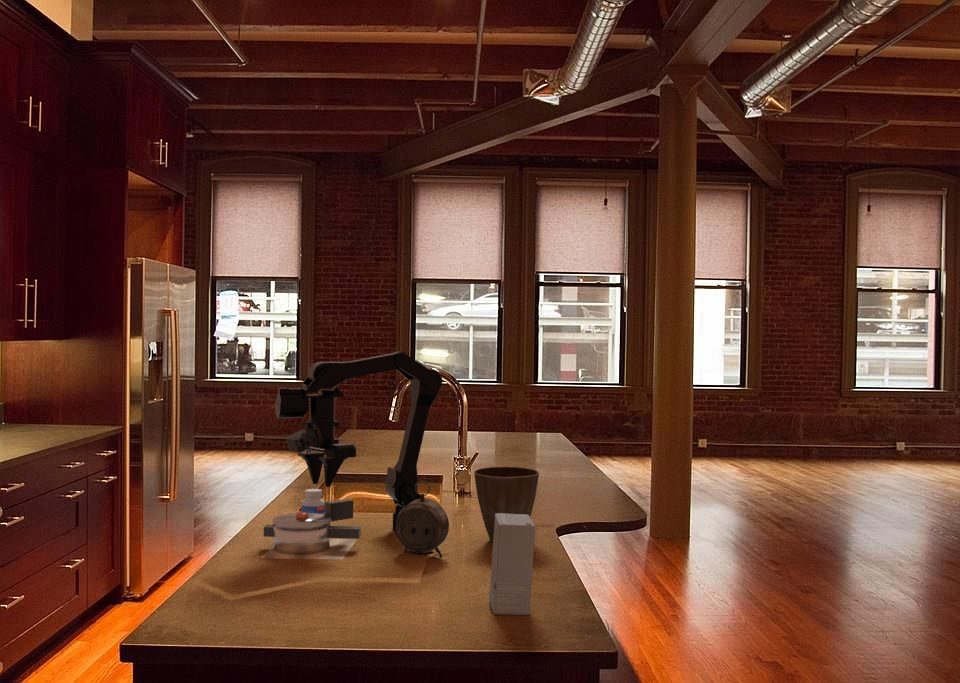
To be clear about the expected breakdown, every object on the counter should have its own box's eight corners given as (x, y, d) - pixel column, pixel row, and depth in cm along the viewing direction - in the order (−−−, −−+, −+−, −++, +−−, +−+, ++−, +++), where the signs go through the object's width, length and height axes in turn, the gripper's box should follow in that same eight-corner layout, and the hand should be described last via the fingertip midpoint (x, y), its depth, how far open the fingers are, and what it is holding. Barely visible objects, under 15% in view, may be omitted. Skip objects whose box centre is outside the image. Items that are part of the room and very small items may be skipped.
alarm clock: (449, 555, 190) (450, 480, 190) (441, 562, 185) (442, 484, 185) (401, 551, 193) (402, 477, 193) (392, 557, 188) (393, 481, 188)
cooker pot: (257, 554, 186) (257, 530, 186) (272, 540, 198) (272, 518, 198) (354, 556, 185) (355, 532, 185) (363, 542, 197) (364, 520, 197)
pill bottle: (318, 534, 208) (319, 492, 208) (297, 532, 210) (297, 491, 209) (327, 529, 214) (328, 488, 214) (306, 527, 215) (307, 487, 215)
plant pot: (508, 552, 194) (509, 479, 194) (459, 540, 204) (460, 471, 204) (551, 541, 205) (552, 471, 205) (502, 530, 215) (503, 464, 215)
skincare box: (488, 601, 158) (489, 512, 158) (528, 600, 159) (529, 512, 159) (493, 616, 150) (494, 522, 150) (535, 615, 150) (536, 522, 150)
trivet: (357, 542, 200) (357, 539, 200) (342, 563, 182) (342, 559, 182) (282, 541, 201) (282, 537, 201) (260, 561, 183) (260, 557, 183)
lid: (292, 534, 183) (292, 514, 183) (261, 524, 192) (262, 505, 192) (366, 521, 196) (366, 503, 196) (334, 512, 205) (334, 495, 205)
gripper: (269, 416, 203) (268, 484, 203) (316, 422, 190) (315, 495, 190) (310, 413, 211) (309, 479, 211) (358, 419, 198) (357, 489, 198)
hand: (321, 485), depth 202 cm, fingers open, 5 cm apart
